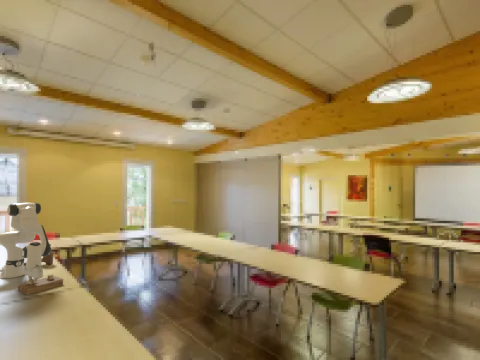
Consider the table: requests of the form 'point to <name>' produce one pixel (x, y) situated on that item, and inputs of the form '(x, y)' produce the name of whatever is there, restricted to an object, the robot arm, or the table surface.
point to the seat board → (40, 285)
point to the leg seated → (50, 277)
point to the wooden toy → (48, 258)
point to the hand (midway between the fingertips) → (32, 282)
